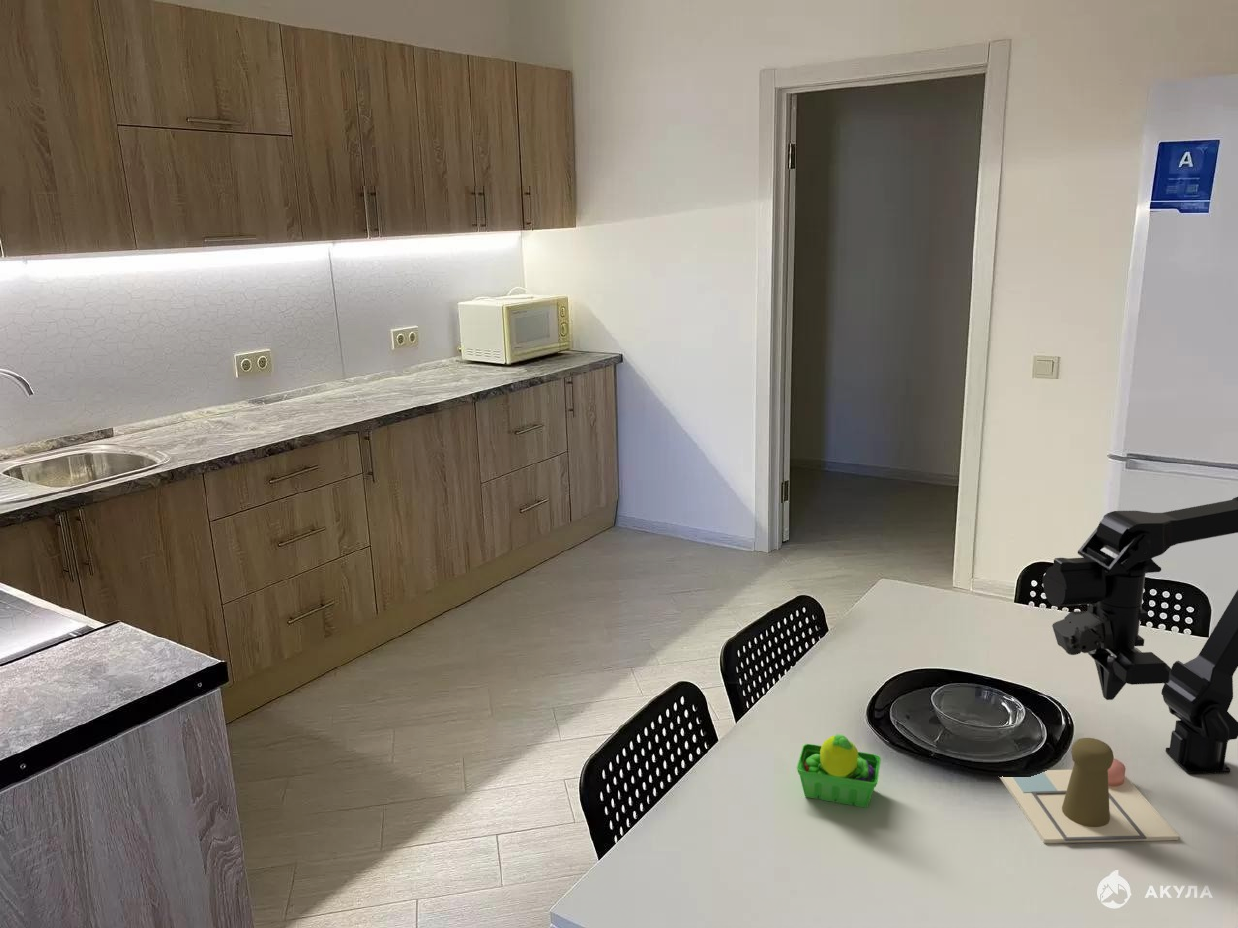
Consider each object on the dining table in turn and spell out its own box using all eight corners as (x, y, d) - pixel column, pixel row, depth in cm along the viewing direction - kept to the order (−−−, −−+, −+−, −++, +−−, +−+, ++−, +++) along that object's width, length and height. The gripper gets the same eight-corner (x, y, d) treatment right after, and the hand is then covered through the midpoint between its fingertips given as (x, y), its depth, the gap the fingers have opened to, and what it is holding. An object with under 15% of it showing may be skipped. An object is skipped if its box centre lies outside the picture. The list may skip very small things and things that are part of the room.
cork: (1115, 828, 129) (1124, 757, 126) (1068, 824, 130) (1076, 753, 127) (1102, 802, 135) (1110, 733, 132) (1056, 798, 136) (1063, 730, 133)
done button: (1113, 766, 143) (1114, 754, 143) (1130, 785, 139) (1132, 773, 138) (1080, 767, 143) (1081, 755, 143) (1096, 786, 139) (1097, 774, 138)
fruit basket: (880, 784, 142) (883, 716, 139) (875, 820, 134) (878, 748, 131) (802, 772, 145) (804, 705, 142) (793, 805, 137) (795, 736, 134)
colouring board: (1118, 771, 143) (1118, 766, 143) (1180, 841, 127) (1181, 836, 127) (998, 774, 143) (998, 769, 143) (1045, 845, 127) (1045, 839, 127)
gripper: (1034, 578, 145) (1026, 671, 149) (1097, 630, 127) (1085, 734, 131) (1106, 575, 145) (1096, 668, 149) (1179, 626, 127) (1165, 731, 131)
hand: (1108, 698), depth 140 cm, fingers closed
